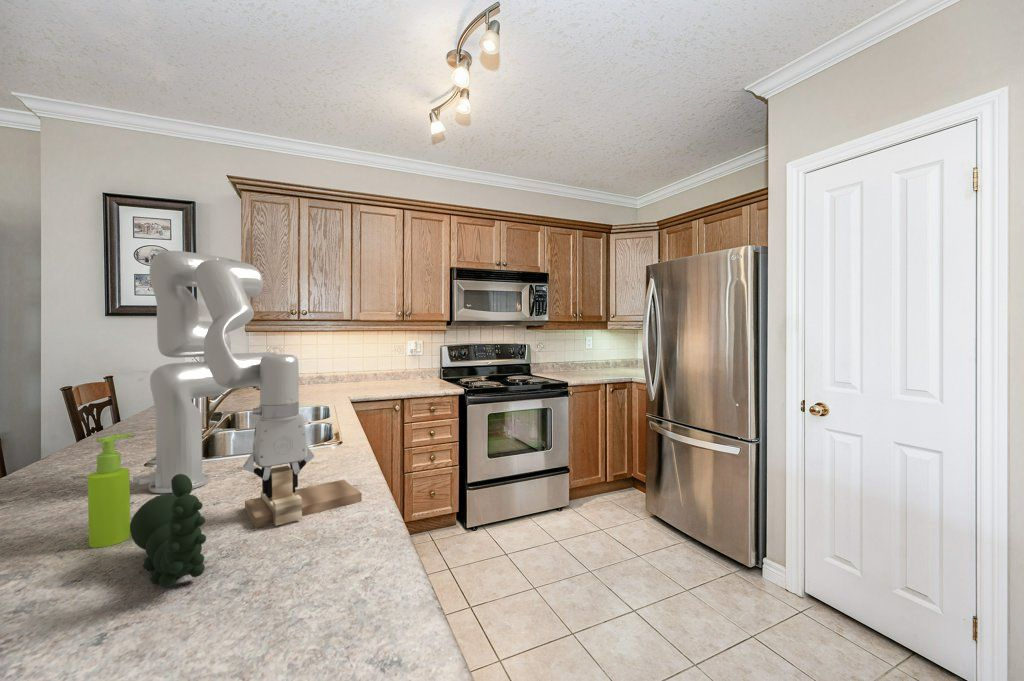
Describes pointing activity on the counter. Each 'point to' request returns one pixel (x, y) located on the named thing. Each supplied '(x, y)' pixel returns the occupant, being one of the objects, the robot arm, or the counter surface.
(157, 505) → the toy figurine
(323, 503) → the walnut board
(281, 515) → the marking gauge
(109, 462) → the soap dispenser
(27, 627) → the counter surface
